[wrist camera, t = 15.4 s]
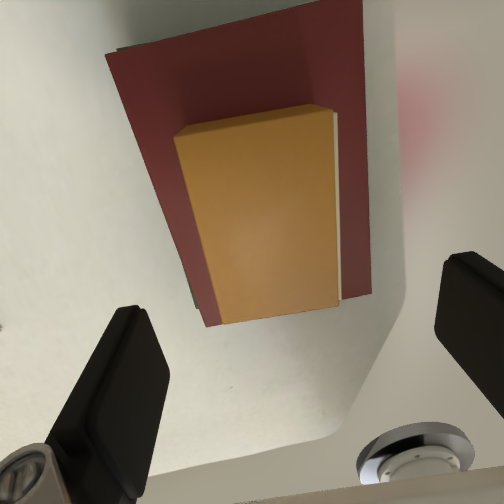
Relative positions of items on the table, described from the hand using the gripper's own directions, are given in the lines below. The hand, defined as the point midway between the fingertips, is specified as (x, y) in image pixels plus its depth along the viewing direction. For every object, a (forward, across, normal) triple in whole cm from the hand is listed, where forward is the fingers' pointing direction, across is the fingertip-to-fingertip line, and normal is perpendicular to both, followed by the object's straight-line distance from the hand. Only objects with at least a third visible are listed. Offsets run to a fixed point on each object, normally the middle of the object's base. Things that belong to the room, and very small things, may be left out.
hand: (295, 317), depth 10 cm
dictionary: (+10, 0, 0) cm, 10 cm away
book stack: (+16, 0, -1) cm, 16 cm away
